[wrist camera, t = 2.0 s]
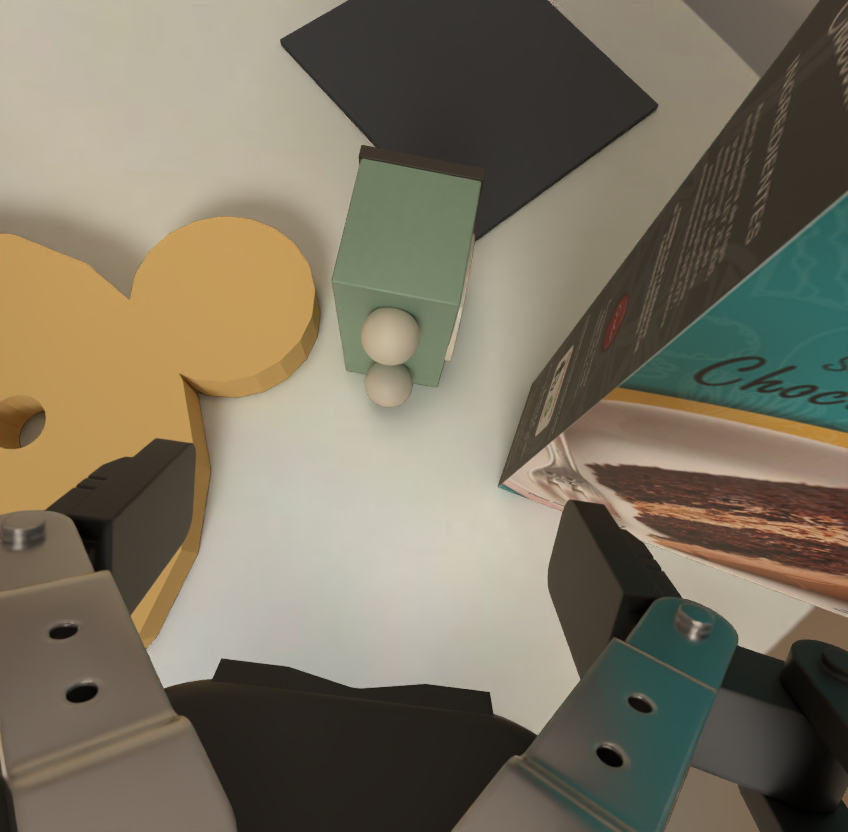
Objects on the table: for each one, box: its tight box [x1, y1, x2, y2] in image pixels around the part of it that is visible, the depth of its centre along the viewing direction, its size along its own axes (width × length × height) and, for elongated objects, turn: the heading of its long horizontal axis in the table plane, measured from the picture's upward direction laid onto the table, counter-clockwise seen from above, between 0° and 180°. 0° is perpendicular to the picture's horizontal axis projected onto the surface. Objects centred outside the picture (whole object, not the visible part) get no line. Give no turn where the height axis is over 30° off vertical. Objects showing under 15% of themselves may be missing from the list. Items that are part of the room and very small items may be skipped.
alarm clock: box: [331, 145, 486, 407], centre depth 29 cm, size 8×6×10 cm, turn 170°
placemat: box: [280, 0, 658, 241], centre depth 38 cm, size 18×16×1 cm
